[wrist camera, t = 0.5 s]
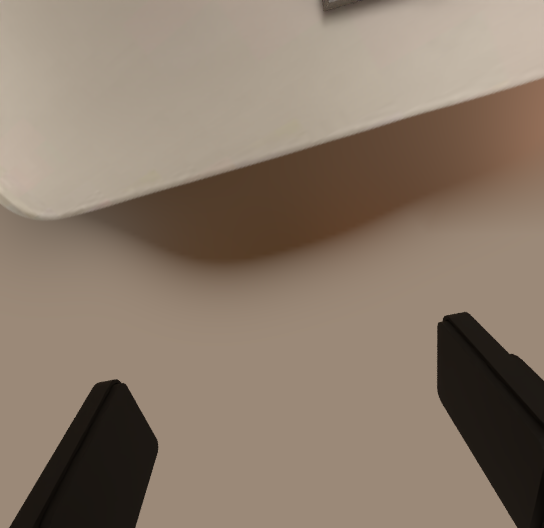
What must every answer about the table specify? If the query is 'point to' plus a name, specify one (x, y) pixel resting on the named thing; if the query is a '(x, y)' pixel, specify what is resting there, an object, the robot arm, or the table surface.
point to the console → (336, 3)
